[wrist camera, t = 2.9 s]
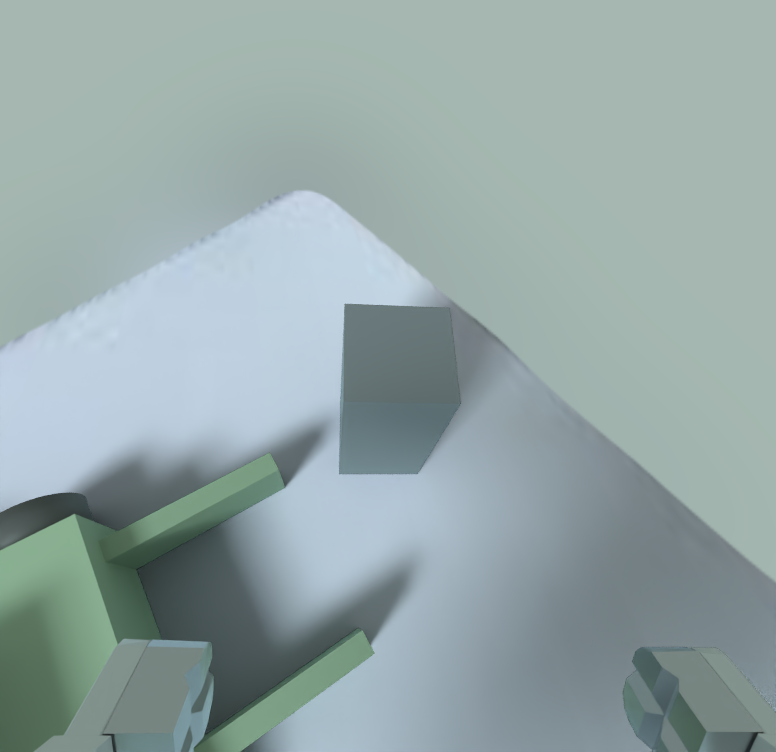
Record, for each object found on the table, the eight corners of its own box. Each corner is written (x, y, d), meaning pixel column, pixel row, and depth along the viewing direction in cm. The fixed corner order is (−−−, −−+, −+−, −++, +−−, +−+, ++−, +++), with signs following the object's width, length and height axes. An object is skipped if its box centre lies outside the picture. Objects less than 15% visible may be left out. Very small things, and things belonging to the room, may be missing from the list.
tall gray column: (417, 474, 26) (460, 403, 18) (339, 474, 26) (343, 401, 17) (412, 402, 28) (449, 307, 20) (340, 401, 28) (344, 303, 19)
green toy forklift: (401, 711, 21) (437, 760, 14) (-124, 1131, 15) (-552, 1619, 7) (254, 428, 27) (226, 360, 19) (-176, 639, 20) (-452, 653, 13)
